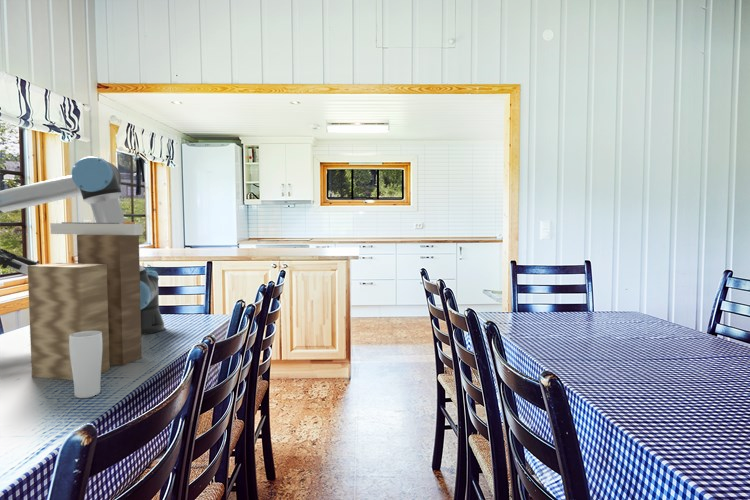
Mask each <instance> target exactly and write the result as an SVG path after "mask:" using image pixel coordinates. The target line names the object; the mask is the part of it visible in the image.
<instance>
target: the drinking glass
mask: <svg viewBox="0 0 750 500" xmlns="http://www.w3.org/2000/svg"><path fill="white" fill-rule="evenodd" d="M102 352H103V340H102V332H100V331H83V332H77V333H73V334H71V335H70V336H69V353H70V361H71V368H72V375H73V380H72V381H73V390H74V391H73V393H74V397H75V398H76V399H88V398H89V399H90V398H93V397H95V395H96V396H98V395H99V394H100V393H101V379H102V373H101V366H102Z"/></svg>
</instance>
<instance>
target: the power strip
mask: <svg viewBox="0 0 750 500" xmlns="http://www.w3.org/2000/svg"><path fill="white" fill-rule="evenodd" d="M49 225H50V235H80V234H88V235H139V236H143V224H142V223H136V222H135V221H125V222H123V224H119V223H96V222H71V221H69V222H68V221H66V222H65V221H64V222H63V221H62V222H61V223H59V222H58V223H57V222H56V223H55V222H50V223H49Z"/></svg>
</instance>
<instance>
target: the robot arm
mask: <svg viewBox="0 0 750 500" xmlns="http://www.w3.org/2000/svg"><path fill="white" fill-rule="evenodd" d="M70 174H71V175H66V176H62V177H57V178H52V179H48V180H44V181H38V182H34V183H30V184H26V185H21V186H15V187H11V188H6V189H3V190H0V214H4V213H8V212H13V211H15V210H16V211H17V210H22V209H25V208H26V209H27V208H30V207H35V206H39V205H44V204H47V203H52V202H57V201H62V200H66V199H70V198H75V197H79V196H81V197H82V199H83V200H82V201H83V202H86V203H87V204H88V205H90V207H91V210H92V211H91V212H92V214H93V217H94V219H95V223H119V224H123V222H126V219H125V216H124V212H123V209H122V206H121V202H120V200H119V199H120V197H121V195H122V190H121V187H120V186H121V182H122V174H121V172H120V170H119V168H118V167H117V166H115V165H114V164H113V163H111V162H108V161H106V160H105V159H104V158H101V157H99V156H86V157H82V158H80V159H78V161H76V162H75V163H74V164H73V167H72V169H71V173H70ZM31 265H41V264H40V261H39V260H37V261H35V260H32V259H28V258H26V257H23V256H20V255H18V254H16V253H14V252H11V251H8V250H6V249H4V248H0V266H1V268H2V269H4V270H6V269H7V268H9V269H12V270H13V271H16V272H18V273H21V274H23V275H26V276H28V266H31ZM159 279H160V278H159V273H158V271H156V270H147V268H145V267H144V266H142V265H140V306H141V335H148V334H155V333H158V332H162V331H163V330H164V329H165V322H164V319H163V317H162V314H161V312H160V305H159V303H160V302H159V300H160V299H159Z"/></svg>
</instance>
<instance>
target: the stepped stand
mask: <svg viewBox="0 0 750 500" xmlns="http://www.w3.org/2000/svg"><path fill="white" fill-rule="evenodd" d="M76 247H77V248H76V249H77V263H74V262H54V263H52V262H51V263H43V264H41V265H31V266H28V275H27V282H28V283H27V285H28V287H27V288H28V289H27V290H28V305H29V306H28V307H29V308H28V309H29V310H28V311H29V335H30V336H29V337H30V359H31V360H30V362H31V377H32V378H41V379H42V378H44V379H54V380H66V379H67V380H68V381H69V380H70V381H73V375H72V368H71V361H70V353H69V336H70V335H71V334H73V333H77V332H83V331H100V332H102V340H103V352H102V366H101V374H103V373H105V372H108V371H110V367H111V366H122V367H123V366H126V365H128V364H130V363H133V362H135V361H137V360H140V359H142V358H143V356H142V353H143V351H142V334H141V306H140V266H141V265H140V235H88V234H76Z"/></svg>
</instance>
